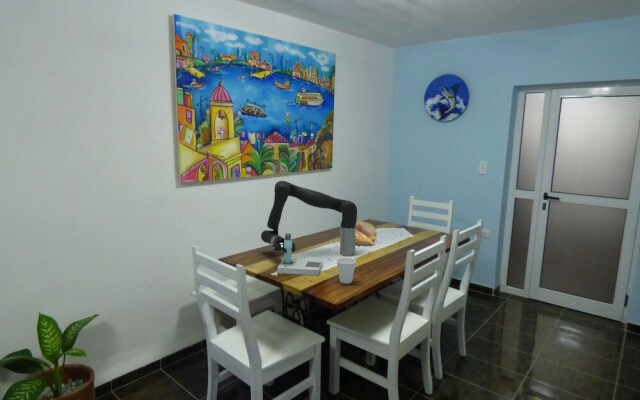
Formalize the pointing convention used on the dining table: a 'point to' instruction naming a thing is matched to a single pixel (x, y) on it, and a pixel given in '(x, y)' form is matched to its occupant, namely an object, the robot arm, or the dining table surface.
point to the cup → (346, 269)
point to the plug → (288, 249)
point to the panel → (301, 267)
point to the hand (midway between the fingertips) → (289, 250)
